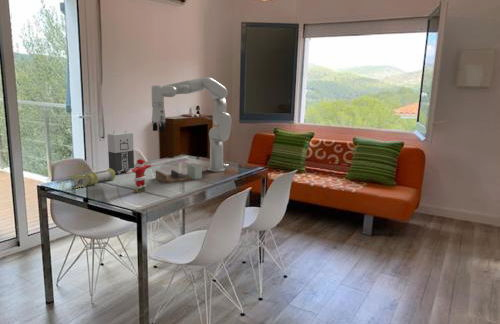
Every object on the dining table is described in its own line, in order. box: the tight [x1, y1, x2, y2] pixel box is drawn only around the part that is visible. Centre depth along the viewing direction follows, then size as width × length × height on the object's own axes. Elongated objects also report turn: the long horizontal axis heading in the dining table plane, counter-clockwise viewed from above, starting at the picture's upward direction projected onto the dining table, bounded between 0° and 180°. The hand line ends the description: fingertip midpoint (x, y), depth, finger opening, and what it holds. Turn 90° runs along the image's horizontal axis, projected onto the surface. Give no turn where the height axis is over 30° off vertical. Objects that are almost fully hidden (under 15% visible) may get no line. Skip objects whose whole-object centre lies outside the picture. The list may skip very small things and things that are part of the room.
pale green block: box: [186, 163, 203, 180], centre depth 250 cm, size 5×12×8 cm, turn 33°
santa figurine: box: [125, 158, 155, 194], centre depth 211 cm, size 25×6×19 cm, turn 159°
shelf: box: [155, 169, 192, 185], centre depth 242 cm, size 18×16×5 cm
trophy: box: [69, 168, 116, 189], centre depth 225 cm, size 8×8×30 cm
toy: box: [107, 129, 135, 175], centre depth 255 cm, size 15×7×30 cm, turn 145°
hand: (158, 131), depth 243 cm, fingers open, 9 cm apart
